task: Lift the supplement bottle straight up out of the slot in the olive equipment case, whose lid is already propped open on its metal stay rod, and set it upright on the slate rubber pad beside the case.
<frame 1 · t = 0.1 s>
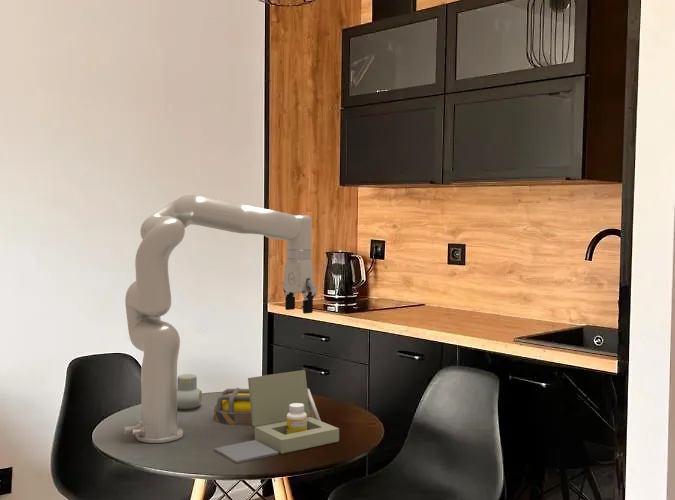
hand: (298, 311, 226), 31 cm above the table, tool pointing down, fingers open, 9 cm apart
air freshener: (187, 408, 232), on the table
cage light: (264, 419, 221), on the table
equipment case: (296, 440, 199), on the table
slate pad: (246, 452, 189), on the table
supplement bottle: (296, 441, 199), resting in equipment case
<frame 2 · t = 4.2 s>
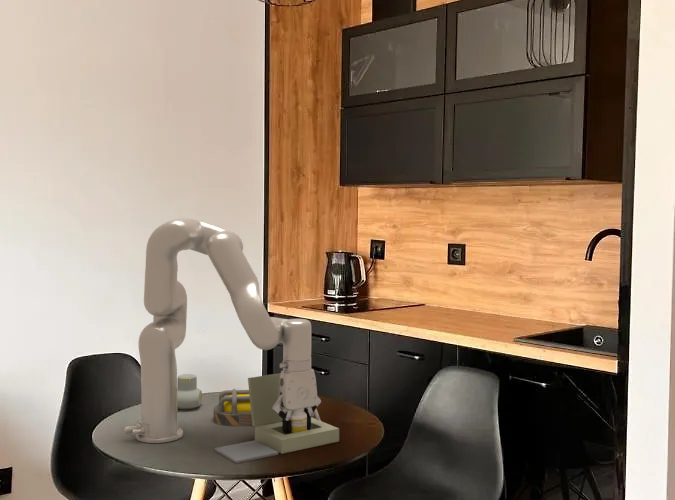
hand: (296, 431, 199), 3 cm above the table, tool pointing down, fingers closed on supplement bottle, 5 cm apart
supplement bottle: (296, 441, 199), resting in equipment case, touching gripper
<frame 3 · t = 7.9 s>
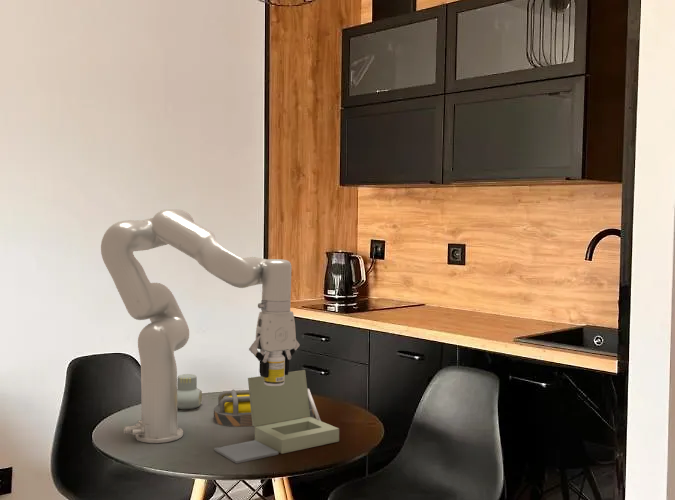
hand: (274, 374, 194), 19 cm above the table, tool pointing down, fingers closed on supplement bottle, 5 cm apart
supplement bottle: (274, 384, 194), point 16 cm above the table, touching gripper
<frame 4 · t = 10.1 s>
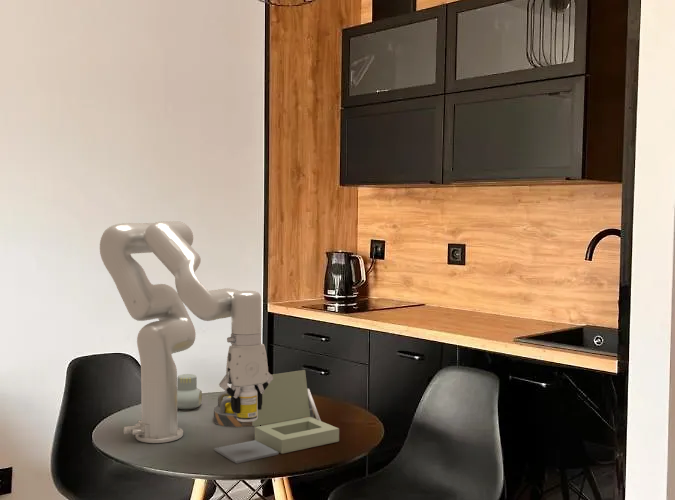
hand: (246, 409, 188), 11 cm above the table, tool pointing down, fingers closed on supplement bottle, 5 cm apart
supplement bottle: (247, 420, 188), point 8 cm above the table, touching gripper
when the fingers open (4 cm above the table, at t = 11.8 s): supplement bottle drops 1 cm, resting on slate pad.
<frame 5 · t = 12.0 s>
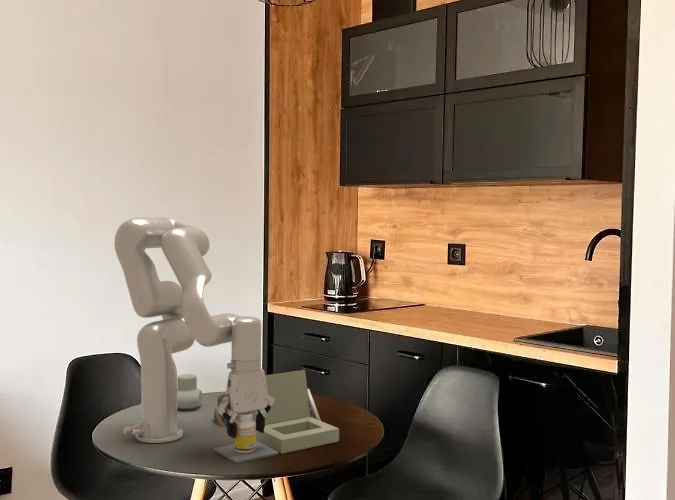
hand: (246, 433, 188), 5 cm above the table, tool pointing down, fingers open, 7 cm apart
supplement bottle: (245, 451, 189), resting on slate pad
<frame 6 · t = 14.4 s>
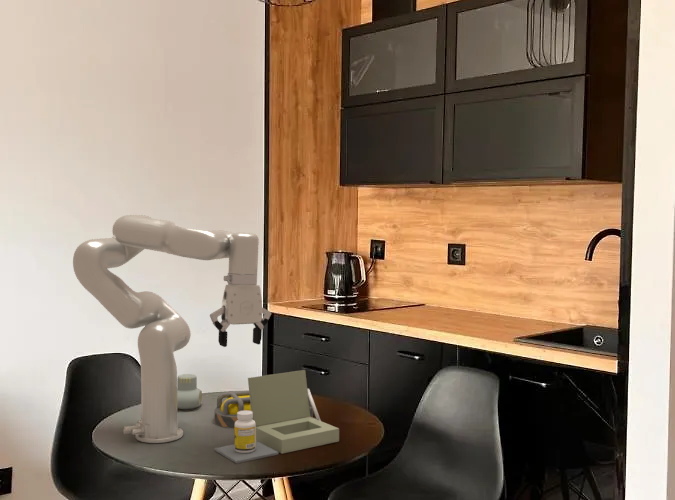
hand: (239, 344, 194), 26 cm above the table, tool pointing down, fingers open, 9 cm apart
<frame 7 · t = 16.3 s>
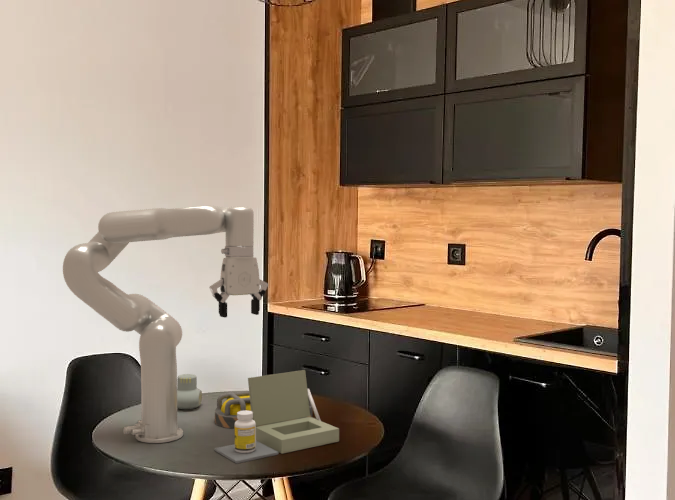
hand: (239, 315, 200), 33 cm above the table, tool pointing down, fingers open, 9 cm apart
at the end: supplement bottle inside the target area (0.2 cm from its centre), resting on slate pad; supplement bottle tilted 0°; the gripper is holding nothing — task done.
